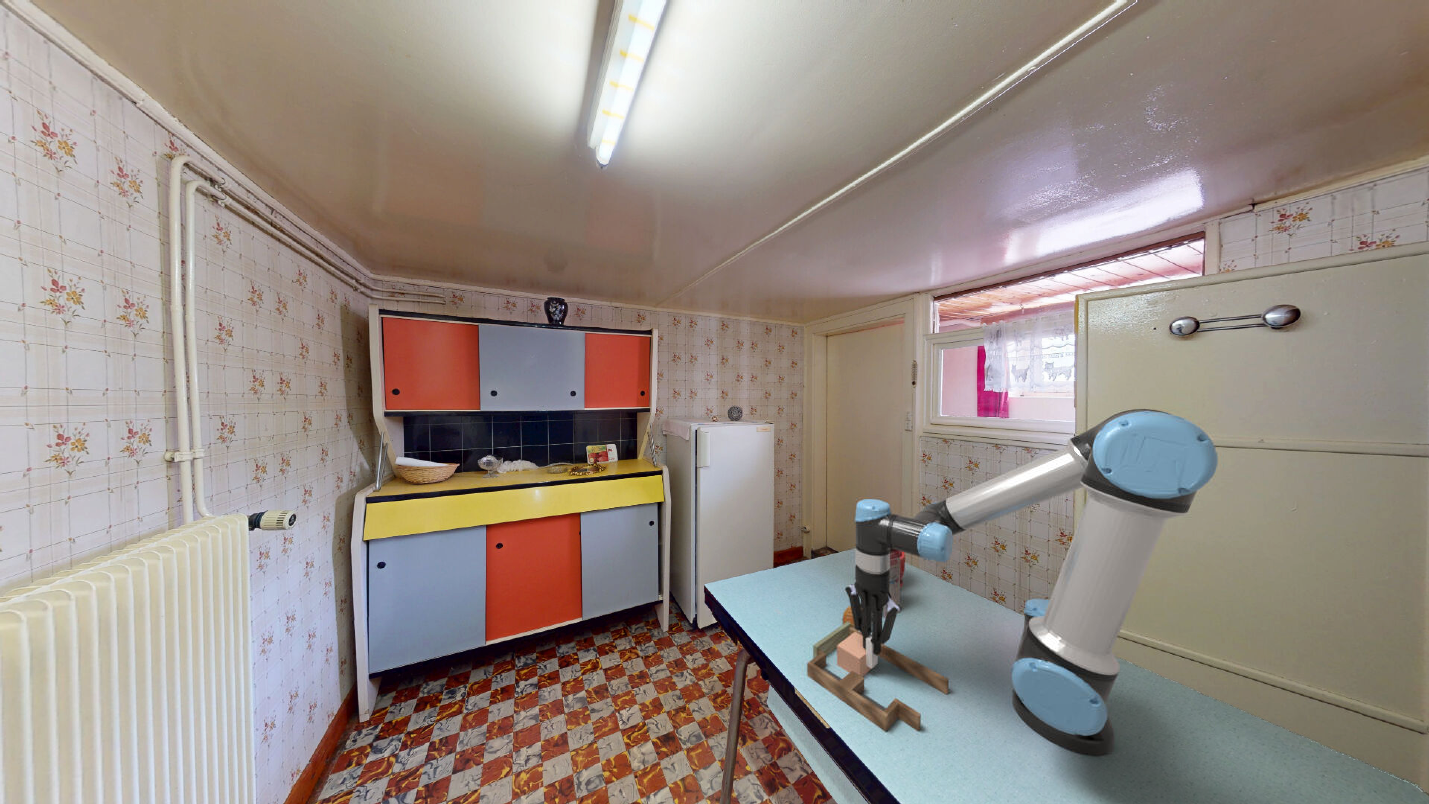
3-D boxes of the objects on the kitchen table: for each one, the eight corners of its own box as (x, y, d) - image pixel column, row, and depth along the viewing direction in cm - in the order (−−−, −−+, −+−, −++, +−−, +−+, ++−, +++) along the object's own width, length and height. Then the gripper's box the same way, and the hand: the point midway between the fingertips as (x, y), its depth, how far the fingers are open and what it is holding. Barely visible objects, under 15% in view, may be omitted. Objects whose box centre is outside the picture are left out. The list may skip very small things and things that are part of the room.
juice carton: (883, 617, 111) (884, 544, 110) (866, 605, 117) (866, 535, 117) (900, 612, 114) (900, 540, 113) (882, 600, 120) (882, 532, 119)
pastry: (858, 634, 104) (858, 621, 104) (836, 624, 109) (835, 611, 109) (873, 619, 111) (872, 606, 111) (851, 610, 116) (850, 598, 116)
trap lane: (948, 692, 84) (948, 674, 84) (906, 746, 72) (906, 726, 71) (847, 635, 104) (847, 621, 103) (800, 670, 91) (800, 654, 91)
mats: (893, 714, 79) (893, 713, 79) (883, 725, 76) (883, 724, 76) (823, 667, 92) (823, 666, 92) (813, 676, 89) (813, 674, 89)
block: (877, 663, 93) (877, 643, 93) (859, 679, 88) (859, 658, 88) (855, 650, 98) (854, 631, 98) (837, 665, 93) (837, 645, 93)
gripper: (908, 572, 86) (907, 672, 87) (855, 553, 96) (855, 643, 97) (892, 583, 82) (891, 689, 83) (838, 561, 92) (838, 656, 93)
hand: (871, 664), depth 90 cm, fingers closed
